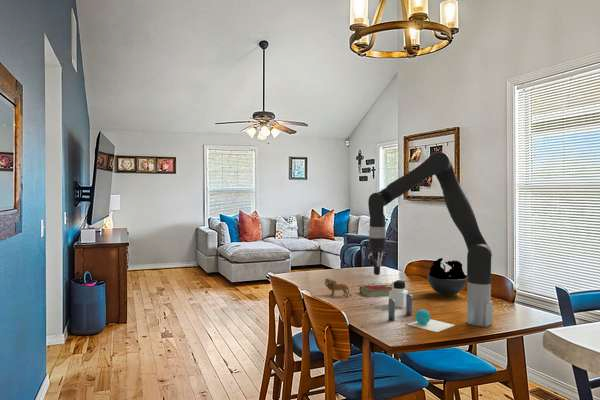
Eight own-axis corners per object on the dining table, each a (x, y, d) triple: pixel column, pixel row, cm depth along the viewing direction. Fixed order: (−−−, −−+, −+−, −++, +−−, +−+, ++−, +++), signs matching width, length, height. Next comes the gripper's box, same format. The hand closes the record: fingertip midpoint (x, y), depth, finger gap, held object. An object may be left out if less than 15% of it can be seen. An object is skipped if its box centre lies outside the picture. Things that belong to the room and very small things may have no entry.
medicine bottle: (407, 305, 226) (408, 280, 225) (403, 308, 219) (403, 282, 219) (393, 303, 229) (394, 278, 229) (388, 306, 223) (389, 281, 223)
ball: (419, 309, 199) (424, 323, 197) (410, 312, 195) (415, 326, 193) (430, 306, 194) (435, 320, 193) (421, 309, 191) (426, 324, 189)
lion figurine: (323, 295, 244) (323, 278, 244) (325, 293, 249) (325, 276, 249) (351, 297, 240) (351, 280, 240) (353, 295, 245) (353, 278, 245)
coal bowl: (469, 300, 236) (470, 263, 235) (428, 298, 240) (429, 261, 239) (463, 292, 255) (464, 257, 255) (426, 290, 259) (426, 256, 259)
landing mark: (455, 325, 192) (455, 325, 192) (437, 332, 182) (437, 331, 182) (425, 318, 202) (425, 318, 202) (406, 324, 193) (406, 324, 193)
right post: (413, 314, 208) (413, 294, 207) (409, 316, 206) (410, 295, 206) (408, 313, 210) (408, 293, 209) (404, 314, 208) (405, 294, 208)
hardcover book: (359, 293, 253) (359, 285, 253) (394, 290, 260) (394, 283, 259) (369, 298, 242) (369, 290, 242) (405, 295, 248) (405, 287, 248)
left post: (395, 320, 199) (396, 299, 199) (392, 321, 197) (392, 300, 197) (390, 319, 201) (391, 298, 200) (387, 320, 199) (387, 299, 199)
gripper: (374, 238, 205) (374, 277, 205) (392, 236, 214) (392, 274, 214) (361, 236, 210) (361, 275, 211) (379, 235, 219) (379, 271, 220)
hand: (376, 274), depth 212 cm, fingers closed
